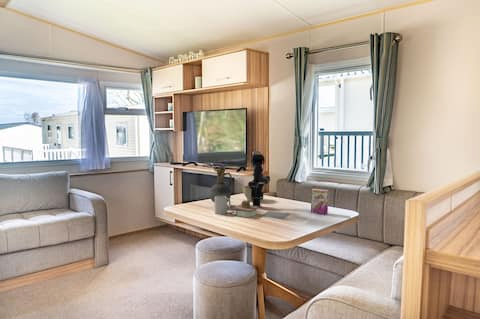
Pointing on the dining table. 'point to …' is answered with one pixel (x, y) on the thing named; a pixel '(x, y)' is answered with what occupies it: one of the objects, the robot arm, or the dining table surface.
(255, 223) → the dining table surface
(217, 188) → the pitcher
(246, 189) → the planter bowl
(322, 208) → the candy bar box
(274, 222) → the dining table surface
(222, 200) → the mug
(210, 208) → the dining table surface
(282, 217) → the rubber mat
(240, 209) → the walnut lid
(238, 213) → the sage dish
